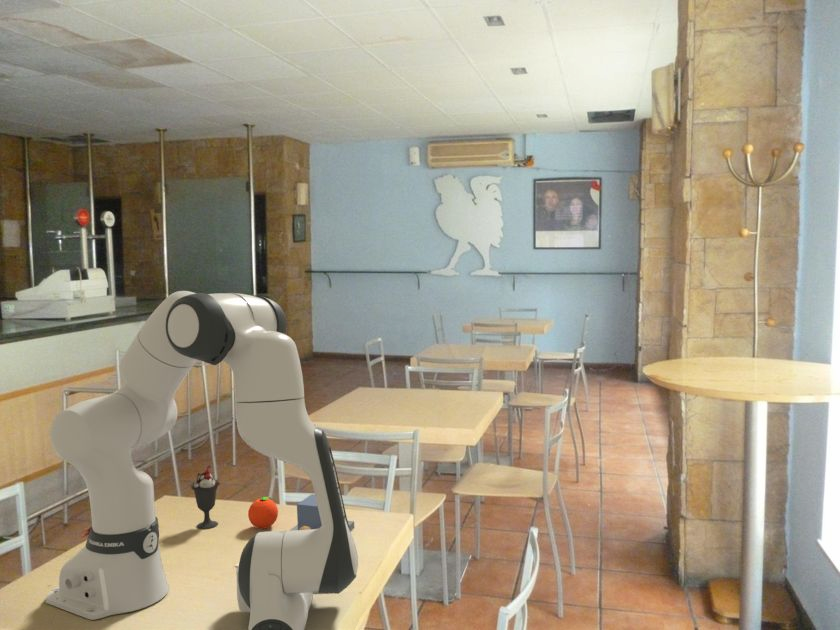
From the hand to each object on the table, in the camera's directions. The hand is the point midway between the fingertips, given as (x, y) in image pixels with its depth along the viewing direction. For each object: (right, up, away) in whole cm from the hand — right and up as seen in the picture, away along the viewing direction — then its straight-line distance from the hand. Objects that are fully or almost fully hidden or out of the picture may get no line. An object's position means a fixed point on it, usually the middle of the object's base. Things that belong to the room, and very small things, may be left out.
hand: (298, 557), depth 137 cm
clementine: (-13, -4, +32) cm, 35 cm away
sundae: (-28, -4, +34) cm, 44 cm away
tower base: (0, -4, +26) cm, 26 cm away
